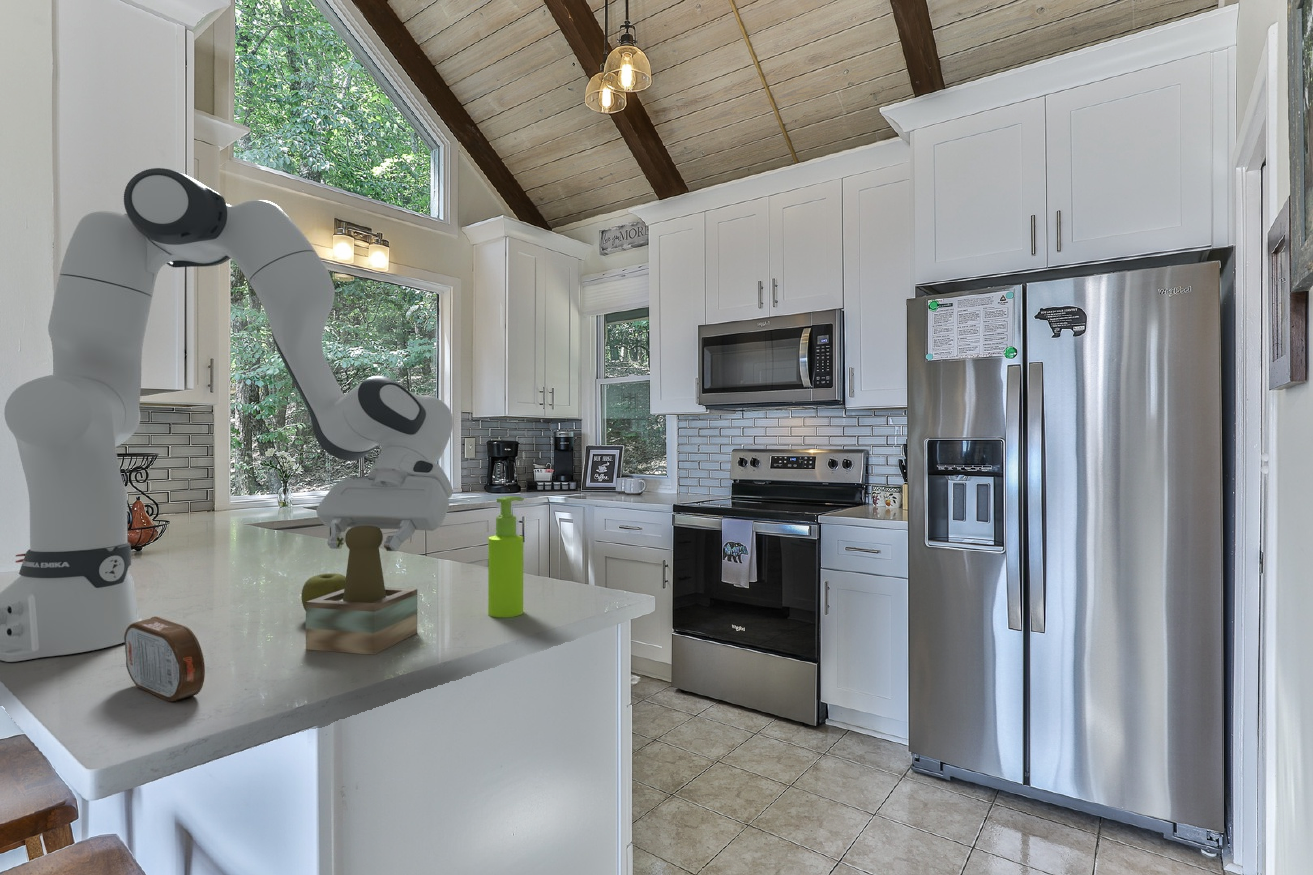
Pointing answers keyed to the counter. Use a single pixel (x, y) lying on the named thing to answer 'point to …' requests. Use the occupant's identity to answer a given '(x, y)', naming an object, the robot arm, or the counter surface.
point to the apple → (322, 586)
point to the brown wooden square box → (360, 622)
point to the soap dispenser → (505, 565)
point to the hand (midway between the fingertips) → (361, 547)
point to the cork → (364, 565)
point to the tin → (164, 658)
